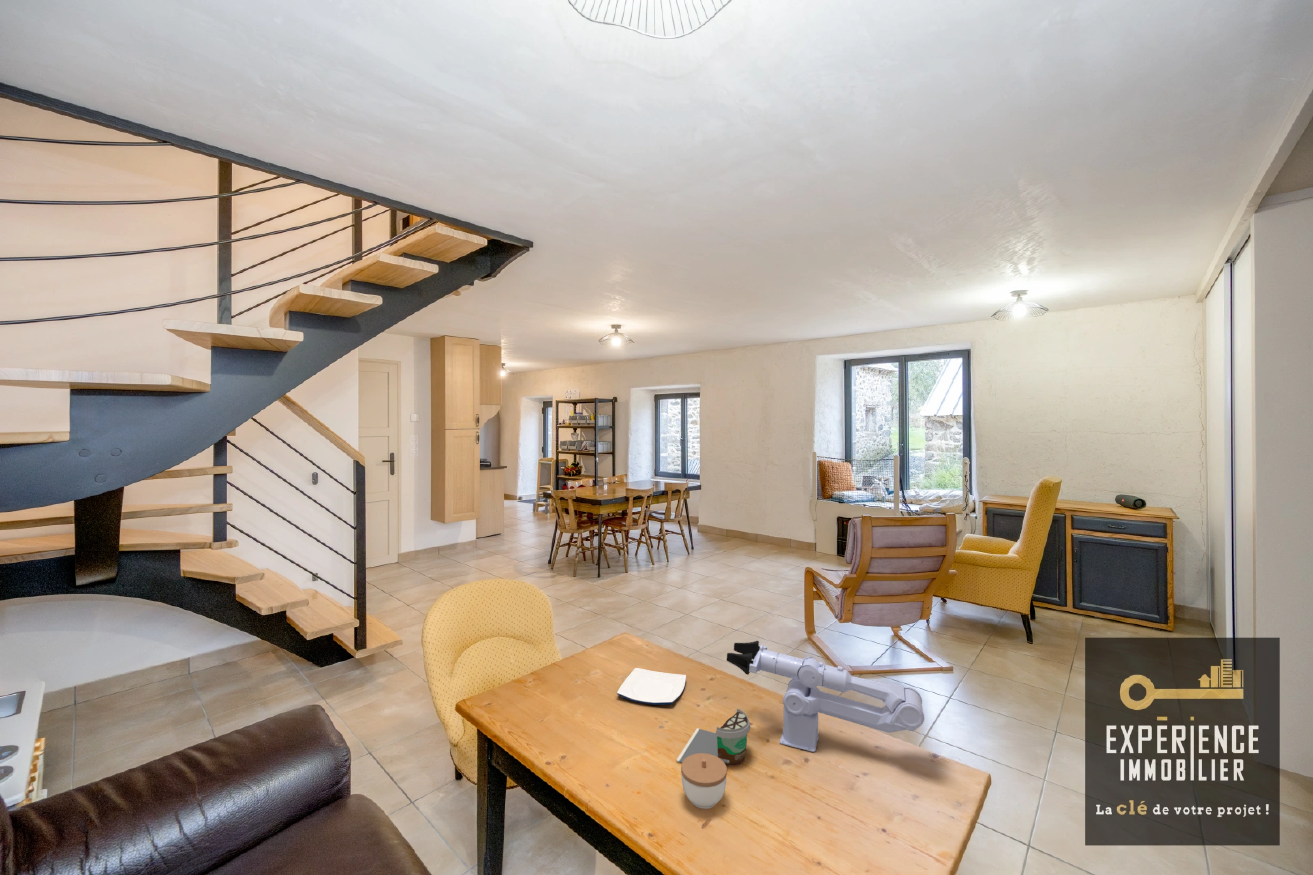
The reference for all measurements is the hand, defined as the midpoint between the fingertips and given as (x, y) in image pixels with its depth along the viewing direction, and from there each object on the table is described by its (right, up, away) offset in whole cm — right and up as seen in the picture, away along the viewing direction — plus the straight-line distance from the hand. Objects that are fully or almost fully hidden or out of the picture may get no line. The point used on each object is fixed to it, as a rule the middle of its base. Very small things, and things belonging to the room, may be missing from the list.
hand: (730, 651), depth 152 cm
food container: (-1, -22, -16) cm, 27 cm away
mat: (-9, -22, -12) cm, 26 cm away
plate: (-23, -22, +20) cm, 37 cm away
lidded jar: (-11, -22, -31) cm, 40 cm away
